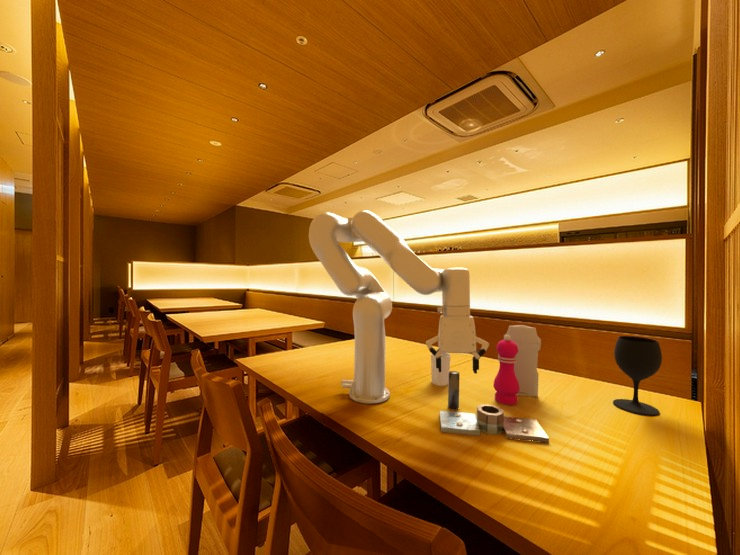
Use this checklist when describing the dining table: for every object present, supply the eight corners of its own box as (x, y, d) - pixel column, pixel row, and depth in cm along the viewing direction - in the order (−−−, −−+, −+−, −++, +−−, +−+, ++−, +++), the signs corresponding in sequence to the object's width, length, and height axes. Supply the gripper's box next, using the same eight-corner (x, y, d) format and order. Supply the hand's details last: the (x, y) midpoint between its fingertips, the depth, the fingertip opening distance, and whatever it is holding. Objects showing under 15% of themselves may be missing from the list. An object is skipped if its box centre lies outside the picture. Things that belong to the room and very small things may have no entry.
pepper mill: (522, 407, 90) (523, 338, 89) (495, 404, 91) (497, 336, 90) (515, 397, 97) (517, 333, 96) (491, 395, 98) (492, 331, 98)
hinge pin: (448, 409, 88) (448, 374, 87) (447, 404, 91) (448, 370, 90) (459, 410, 87) (460, 374, 87) (458, 405, 90) (458, 371, 90)
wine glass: (651, 404, 93) (653, 337, 92) (666, 419, 83) (669, 345, 83) (608, 397, 97) (610, 334, 97) (618, 411, 88) (620, 340, 87)
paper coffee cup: (452, 381, 109) (453, 353, 109) (446, 387, 104) (446, 358, 103) (434, 378, 113) (434, 350, 112) (427, 383, 107) (427, 355, 107)
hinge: (441, 431, 75) (441, 413, 75) (439, 414, 84) (440, 398, 84) (548, 443, 71) (549, 423, 71) (535, 423, 80) (535, 406, 80)
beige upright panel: (539, 394, 99) (541, 325, 98) (539, 399, 95) (541, 327, 95) (503, 388, 104) (504, 322, 103) (501, 392, 100) (503, 324, 100)
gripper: (425, 313, 86) (426, 374, 86) (490, 313, 83) (491, 377, 83) (425, 309, 93) (426, 366, 94) (485, 309, 90) (486, 368, 90)
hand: (457, 371), depth 88 cm, fingers open, 9 cm apart
